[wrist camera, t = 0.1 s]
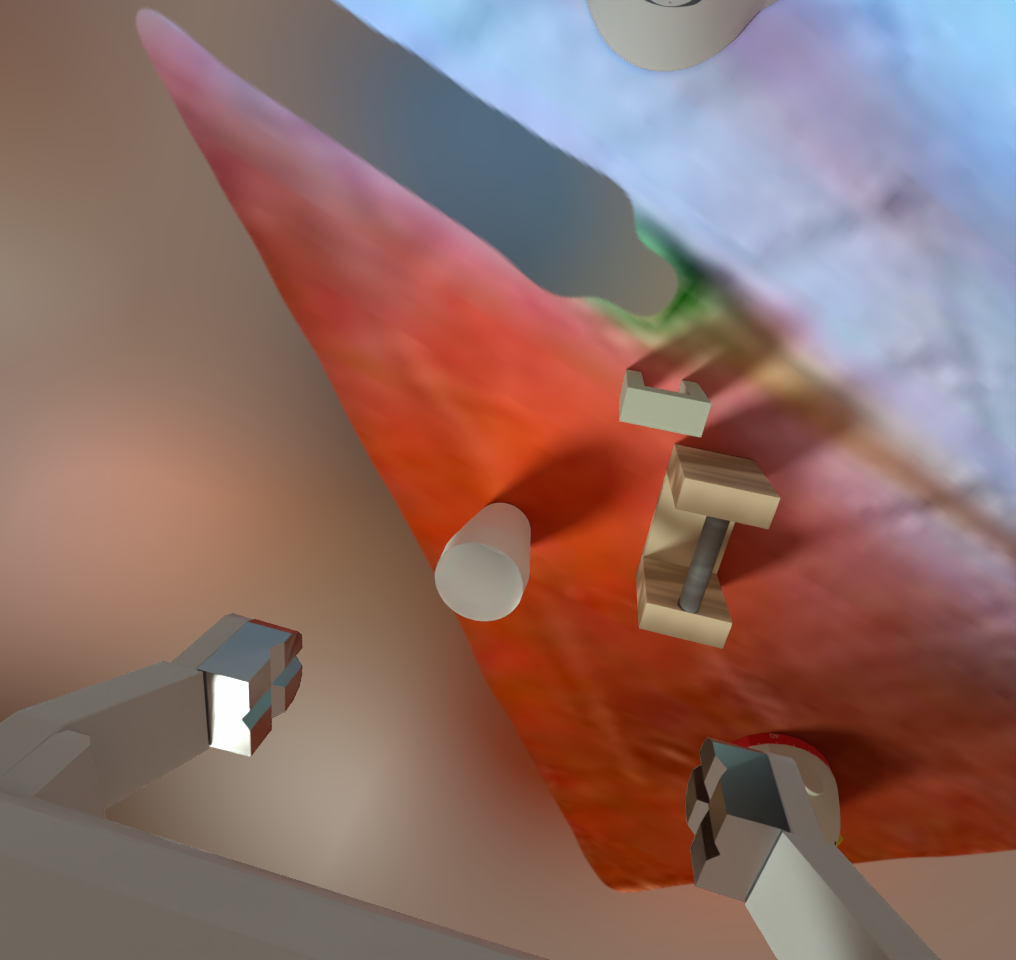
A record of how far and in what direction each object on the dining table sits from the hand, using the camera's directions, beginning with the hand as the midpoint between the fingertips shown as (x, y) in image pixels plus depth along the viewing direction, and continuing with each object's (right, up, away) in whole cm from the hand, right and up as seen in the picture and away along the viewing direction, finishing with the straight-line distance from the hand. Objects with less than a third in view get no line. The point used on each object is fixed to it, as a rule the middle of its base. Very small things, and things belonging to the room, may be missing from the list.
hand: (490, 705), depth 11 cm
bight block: (+15, +13, +44) cm, 48 cm away
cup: (0, -1, +53) cm, 53 cm away
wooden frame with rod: (+20, 0, +48) cm, 52 cm away
